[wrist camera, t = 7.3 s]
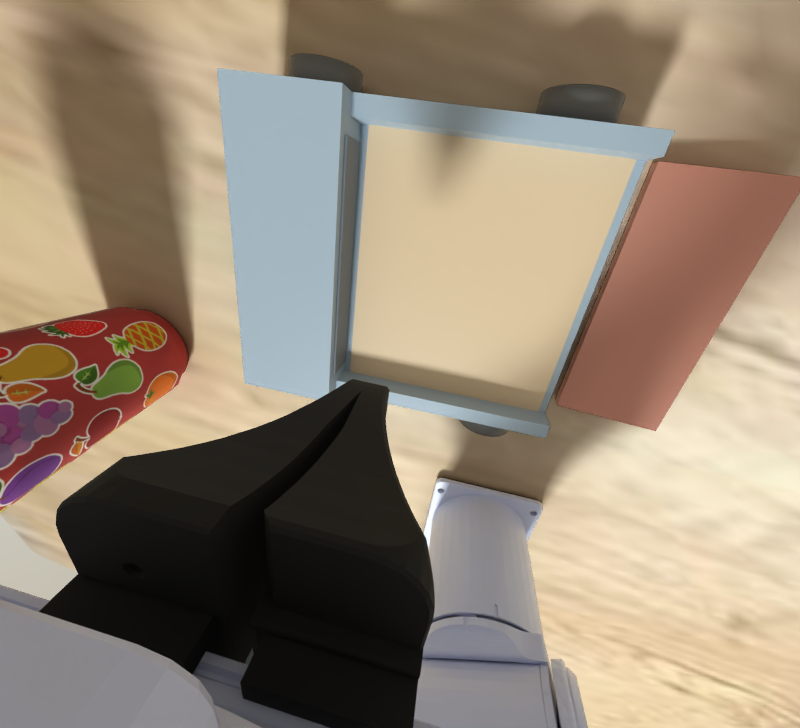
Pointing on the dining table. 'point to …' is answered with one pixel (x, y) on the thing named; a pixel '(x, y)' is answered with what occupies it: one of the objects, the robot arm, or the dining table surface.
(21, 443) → the smoothie
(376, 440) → the robot arm
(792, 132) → the dining table surface
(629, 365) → the tailgate
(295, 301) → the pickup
